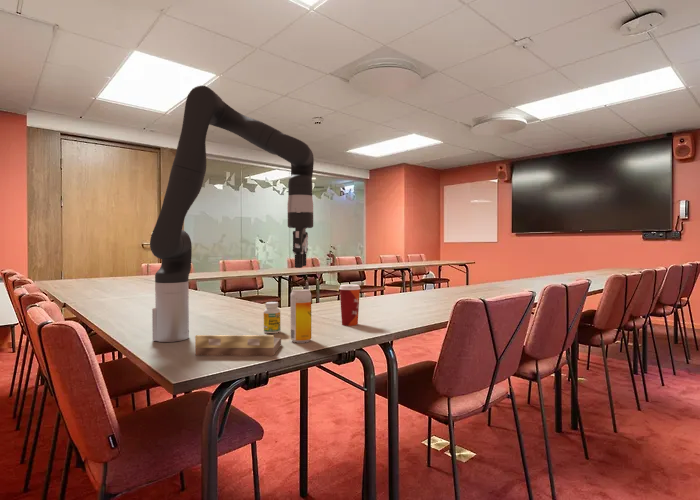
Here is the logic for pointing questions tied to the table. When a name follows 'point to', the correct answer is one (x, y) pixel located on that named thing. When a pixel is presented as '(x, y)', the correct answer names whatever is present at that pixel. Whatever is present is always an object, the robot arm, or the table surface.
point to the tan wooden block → (236, 345)
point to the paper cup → (349, 304)
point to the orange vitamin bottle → (300, 315)
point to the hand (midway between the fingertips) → (300, 266)
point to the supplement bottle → (272, 318)
